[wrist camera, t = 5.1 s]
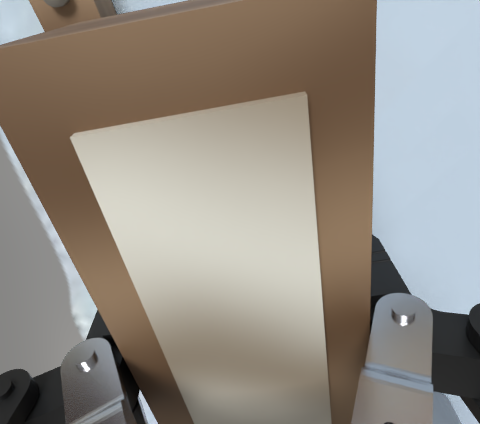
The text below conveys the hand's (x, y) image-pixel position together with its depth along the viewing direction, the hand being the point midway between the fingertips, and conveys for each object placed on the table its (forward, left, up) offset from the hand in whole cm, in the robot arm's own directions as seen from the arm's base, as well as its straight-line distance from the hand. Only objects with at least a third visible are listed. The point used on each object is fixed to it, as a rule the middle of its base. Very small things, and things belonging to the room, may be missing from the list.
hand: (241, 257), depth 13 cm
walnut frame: (0, 0, -1) cm, 1 cm away
